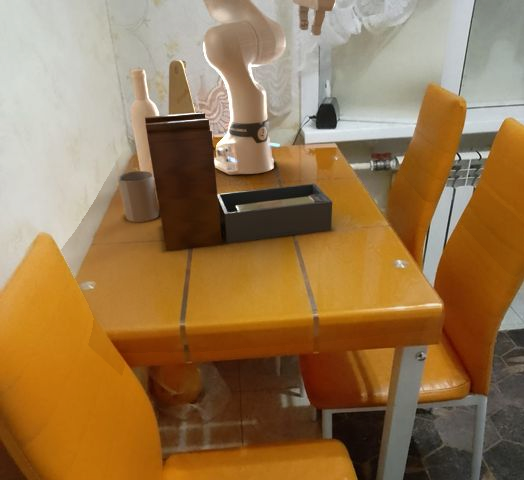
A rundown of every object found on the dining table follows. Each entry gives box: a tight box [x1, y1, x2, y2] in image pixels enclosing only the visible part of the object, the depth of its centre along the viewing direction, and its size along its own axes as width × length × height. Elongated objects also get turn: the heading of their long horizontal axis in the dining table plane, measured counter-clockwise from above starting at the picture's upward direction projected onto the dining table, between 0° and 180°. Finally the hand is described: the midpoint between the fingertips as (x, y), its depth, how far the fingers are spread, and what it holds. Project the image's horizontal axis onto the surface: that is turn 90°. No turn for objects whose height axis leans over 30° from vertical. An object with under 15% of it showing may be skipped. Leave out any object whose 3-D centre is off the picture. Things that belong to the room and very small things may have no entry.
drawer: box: [235, 194, 323, 211], centre depth 116 cm, size 20×5×5 cm, turn 102°
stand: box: [145, 112, 223, 252], centre depth 107 cm, size 12×14×25 cm
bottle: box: [129, 68, 160, 190], centre depth 137 cm, size 8×8×30 cm
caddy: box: [168, 59, 196, 115], centre depth 163 cm, size 29×11×30 cm, turn 178°
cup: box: [117, 170, 160, 223], centre depth 123 cm, size 8×8×10 cm
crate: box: [217, 182, 333, 244], centre depth 115 cm, size 25×14×7 cm, turn 102°
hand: (309, 32), depth 110 cm, fingers open, 8 cm apart
